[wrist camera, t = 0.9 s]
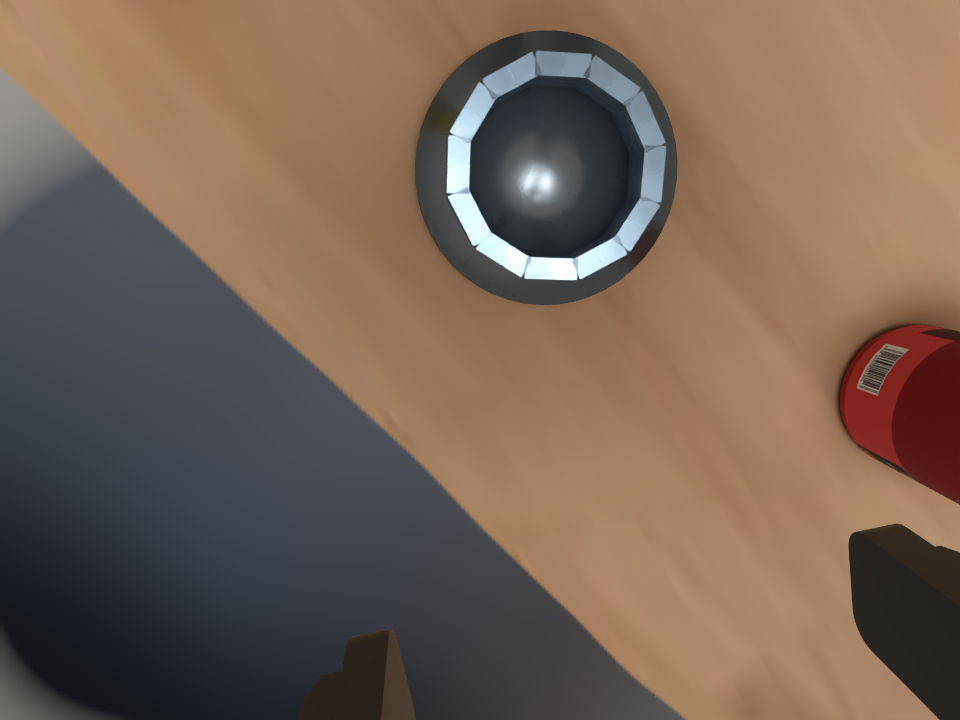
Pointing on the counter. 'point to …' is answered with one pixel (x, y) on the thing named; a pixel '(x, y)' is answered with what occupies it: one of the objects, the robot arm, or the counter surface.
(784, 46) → the counter surface
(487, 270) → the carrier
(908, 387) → the canned food
